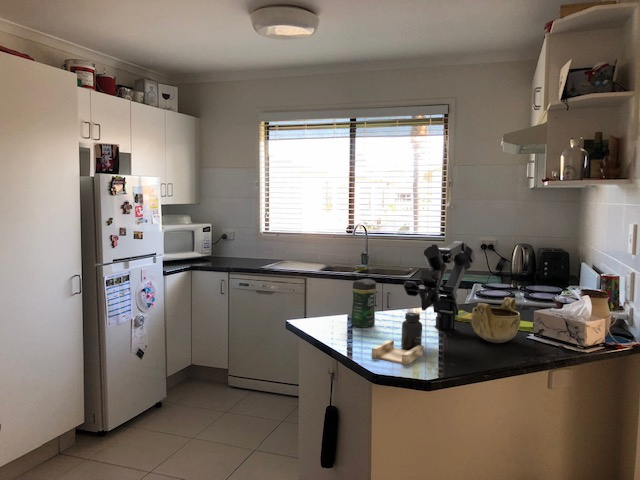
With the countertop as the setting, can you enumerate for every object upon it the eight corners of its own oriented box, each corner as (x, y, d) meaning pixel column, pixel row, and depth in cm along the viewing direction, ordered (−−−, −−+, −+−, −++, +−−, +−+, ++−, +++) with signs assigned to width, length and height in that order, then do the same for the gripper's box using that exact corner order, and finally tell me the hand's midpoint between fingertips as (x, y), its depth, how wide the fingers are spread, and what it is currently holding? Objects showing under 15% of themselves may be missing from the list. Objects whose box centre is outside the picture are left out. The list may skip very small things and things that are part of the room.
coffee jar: (363, 329, 202) (365, 281, 200) (347, 325, 207) (349, 279, 206) (378, 324, 209) (379, 279, 208) (362, 321, 214) (363, 276, 213)
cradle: (389, 348, 177) (389, 339, 177) (422, 354, 171) (423, 345, 171) (371, 357, 167) (371, 348, 166) (406, 365, 160) (406, 355, 160)
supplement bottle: (421, 352, 174) (422, 316, 173) (400, 350, 175) (401, 315, 174) (421, 346, 181) (422, 312, 180) (401, 344, 182) (402, 310, 181)
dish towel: (461, 314, 233) (461, 307, 233) (546, 327, 212) (546, 320, 212) (448, 321, 221) (448, 313, 221) (536, 335, 200) (537, 327, 200)
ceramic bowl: (500, 351, 176) (503, 308, 175) (456, 340, 188) (458, 299, 187) (530, 340, 191) (533, 299, 190) (488, 330, 203) (490, 292, 202)
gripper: (406, 259, 193) (392, 293, 184) (455, 263, 182) (443, 299, 174) (414, 278, 200) (401, 311, 191) (462, 283, 189) (450, 318, 181)
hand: (422, 309), depth 184 cm, fingers closed
